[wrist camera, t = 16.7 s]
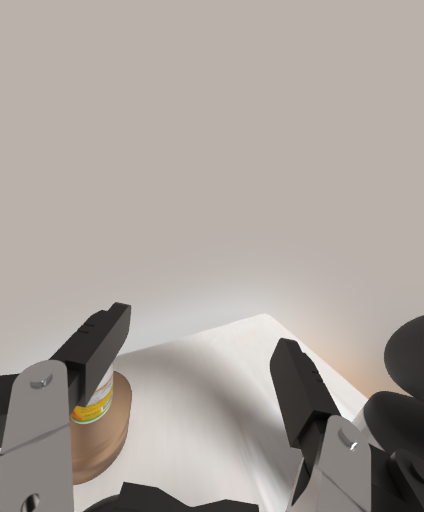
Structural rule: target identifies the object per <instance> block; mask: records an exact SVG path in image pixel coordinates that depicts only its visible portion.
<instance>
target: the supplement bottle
mask: <svg viewBox="0 0 424 512" xmlns="http://www.w3.org/2000/svg"><path fill="white" fill-rule="evenodd" d="M113 372H114V368H113V362H112V364H111V365H110V367H109V369H108V370H107V372H106V374H105V376H104V377H103V379H102V381H101V382H100V384H99V386H98V387H97V389H96V391H95V392H94V394H93V396H92V397H91V399H90V401H89V402H88V404H87V406H86V408H85V407H80V406H76V407H75V409H74V410H73V412H72V413H71V415H70V417H71V419H72V420H73V421H74V422H76V423H78V424H88V423H91V422H94V421H96V420H98V419H99V418H100V417H102V416H103V415H104V414H105V413H106V411H107V410H108V409H109V407H110V405H111V402H112V396H113Z"/></svg>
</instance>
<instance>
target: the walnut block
mask: <svg viewBox="0 0 424 512" xmlns="http://www.w3.org/2000/svg"><path fill="white" fill-rule="evenodd" d="M131 401H132V391H131V387H130V384H129V382H128V381H127V379H126V378H125V377H124V376H123V375H121V374H120V373H118V372H116V371H114V372H113V396H112V402H111V405H110V407H109V409H108V410H107V411H106V413H105V414H104V415H103V416H102V417H100V418H99V419H98V420H96V421H94V422H91V423H88V424H78V423H76V422H74V421H73V420H72V419H71V417H69V423H70V439H71V459H72V480H73V485H78V484H82V483H85V482H88V481H90V480H92V479H94V478H95V477H97V476H98V475H100V474H101V473H103V472H104V471H105V470H106V469H107V468H108V467H109V466H110V465H111V464H112V463H113V462H114V460H115V459H116V458H117V456H118V455H119V453H120V451H121V450H122V448H123V445H124V443H125V440H126V437H127V432H128V424H129V416H130V409H131Z"/></svg>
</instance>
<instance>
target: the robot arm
mask: <svg viewBox="0 0 424 512" xmlns="http://www.w3.org/2000/svg"><path fill="white" fill-rule="evenodd" d="M130 315H131V305H127V304H123V303H118V302H115V303H114V304H113V305H112V306H111V308H110V309H109V310H108V311H104V310H101V311H99V312H97V313H95V314H93V315H91V316H90V318H88V319H87V321H86V322H85V323H84V324H83V325H82V326H81V327H80V328H79V329H78V330H77V332H75V333H74V334H73V335H72V336H71V337H70V338H69V339H68V340H67V341H66V342H65V344H63V345H62V347H61V348H60V349H59V350H58V351H57V352H56V353H55V354H54V355H53V356H52V357H51V358H50V359H49V360H46V361H42V362H39V363H36V364H34V365H32V366H30V367H28V368H27V369H25V370H24V371H23V372H22V373H20V374H12V375H2V376H0V448H1V452H0V512H74V500H73V480H72V459H71V439H70V423H69V417H70V415H71V413H72V412H73V410H74V409H75V407H76V406H80V407H85V408H86V406H87V404H88V402H89V401H90V399H91V397H92V396H93V394H94V392H95V391H96V389H97V387H98V386H99V384H100V382H101V381H102V379H103V377H104V376H105V374H106V372H107V370H108V369H109V367H110V365H111V364H112V362H113V360H114V359H115V357H116V355H117V354H118V352H119V350H120V348H121V347H122V345H123V344H124V342H125V340H126V338H127V335H128V332H129V325H130ZM384 362H385V366H386V369H387V371H388V374H389V375H390V377H391V378H392V379H393V381H394V382H395V383H396V384H398V386H400V387H401V388H402V389H403V390H404V391H406V392H407V393H409V394H410V395H412V396H413V397H410V396H406V395H402V394H399V393H395V392H389V391H381V392H377V393H375V394H374V395H372V396H371V397H370V399H369V400H368V401H367V403H366V404H365V406H364V407H363V408H362V410H361V411H360V412H359V414H358V415H357V416H356V418H355V419H354V421H353V422H352V423H351V422H350V421H349V420H347V419H345V418H343V417H342V416H341V414H340V412H339V410H338V408H337V406H336V405H335V403H334V401H333V399H332V397H331V395H330V393H329V391H328V389H327V387H326V385H325V383H323V380H322V378H321V376H320V374H319V372H318V370H317V368H316V366H315V364H314V362H313V361H312V360H311V359H310V358H309V357H308V356H307V355H306V353H302V351H301V349H300V347H299V345H298V343H297V341H294V340H290V339H285V338H280V340H279V341H278V344H277V346H276V348H275V350H274V353H273V355H272V357H271V360H270V373H271V376H272V380H273V384H274V387H275V391H276V395H277V399H278V402H279V406H280V410H281V414H282V417H283V421H284V425H285V428H286V432H287V436H288V440H289V443H290V447H293V448H298V449H301V450H302V453H303V457H302V459H301V461H300V464H299V468H298V471H297V475H296V478H295V481H294V485H293V488H292V492H291V495H290V498H289V502H288V505H287V509H286V511H285V512H424V316H420V317H418V318H415V319H413V320H411V321H409V322H407V323H406V324H404V325H403V326H401V327H400V328H399V329H398V330H397V331H396V332H395V333H394V334H393V335H392V336H391V338H390V339H389V341H388V343H387V345H386V347H385V352H384ZM414 397H415V398H414ZM83 512H259V507H258V505H256V504H250V503H244V502H239V501H233V500H227V499H225V500H221V501H217V502H213V503H209V504H205V505H200V506H196V507H189V506H187V505H185V504H184V503H182V502H180V501H179V500H177V499H175V498H174V497H172V496H170V495H169V494H167V493H165V492H164V491H162V490H161V489H159V488H157V487H151V486H145V485H139V484H133V483H128V482H123V485H122V488H121V491H120V494H118V495H114V496H111V497H108V498H105V499H103V500H101V501H99V502H97V503H95V504H93V505H92V506H90V507H89V508H87V509H86V510H85V511H83Z"/></svg>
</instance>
